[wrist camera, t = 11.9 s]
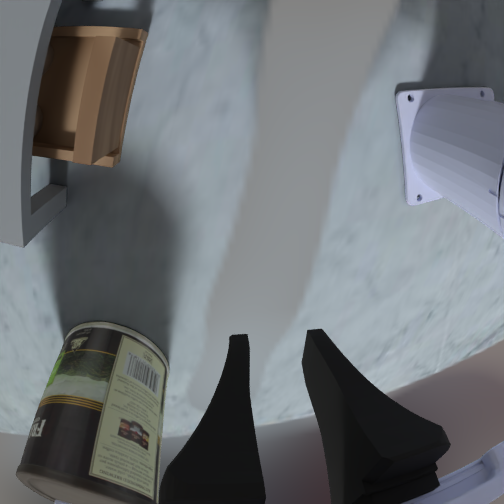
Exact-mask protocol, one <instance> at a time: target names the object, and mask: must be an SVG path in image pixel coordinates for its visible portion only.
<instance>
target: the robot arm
mask: <svg viewBox="0 0 504 504" xmlns="http://www.w3.org/2000/svg"><path fill="white" fill-rule="evenodd" d="M480 92H481V95H480ZM408 95H410V96H411V100H410V101H408ZM395 99H396V105H397V112H398V119H399V127H400V135H401V144H402V154H403V165H404V178H405V196H406V202H407V203H408V204H409V205H411V206H414V205H418V204H422V203H425V202H429V201H433V200H437V199H441V198H444V197H445V198H446V199H448V200H449V201H451V202H452V203H454V204H455V205H457V206H458V207H460V208H461V209H463V210H464V211H466V212H467V213H469V214H470V215H472V216H473V217H475V218H476V219H477V220H479V221H480V222H482V223H483V224H484V225H486V226H487V227H489V228H490V229H491V230H493V231H494V232H495V233H497V234H498V235H499V236H501V237H502V238H503V239H504V103H501V102H496V101H495V100H494V92H493V90H492V89H491V88H488V87H457V88H433V89H418V90H405V91H399V92H398V93H397V94H396V98H395ZM418 195H420V196H419V198H418V199H417V196H418ZM249 367H250V347H249V341H248V336H247V334H238V335H231V336H230V337H229V349H228V354H227V358H226V362H225V366H224V369H223V372H222V375H221V378H220V381H219V384H218V386H217V388H216V391H215V393H214V396H213V398H212V400H211V403H210V404H209V406H208V408H207V410H206V412H205V414H204V416H203V418H202V419H201V421H200V423H199V425H198V426H197V428H196V429H195V431H194V433H193V434H192V435H191V437H190V439H189V440H188V441H187V443H186V444H185V446H184V447H183V449H182V450H181V451H180V452H179V453H178V455H177V456H176V457H175V458H174V460H173V461H172V462H171V463H170V464H169V465H168V467H167V469H166V471H165V474H164V476H163V479H162V482H161V486H160V490H159V504H265V499H266V494H265V487H264V481H263V476H262V470H261V465H260V459H259V453H258V448H257V441H256V435H255V428H254V421H253V415H252V407H251V400H250V387H249V380H250V378H249V376H250V375H249V374H250V373H249V372H250V369H249ZM302 367H303V373H304V378H305V383H306V387H307V390H308V393H309V396H310V400H311V403H312V406H313V409H314V412H315V415H316V418H317V421H318V425H319V428H320V432H321V436H322V441H323V447H324V452H325V458H326V464H327V471H328V479H329V486H330V494H331V495H330V496H331V504H489V503H491V502H492V501H494V500H495V499H497V498H498V497H500V496H501V495H502V494H504V441H503V442H501V443H499V444H498V445H496V446H495V447H493V448H491V449H490V450H489V451H487V452H486V453H485V454H484V455H483V456H482V457H481V458H480V459H478V460H476V461H474V462H472V463H470V464H468V465H466V466H464V467H463V468H460V469H458V470H456V471H454V472H452V473H450V474H448V475H446V476H444V477H442V478H439V479H438V478H437V475H436V473H435V471H436V470H437V469H438V468H437V465H436V463H435V462H436V461H437V460H438V459H439V458H441V457H442V456H443V455H444V454H445V453H446V451H448V449H449V447H450V445H451V444H450V442H449V440H448V438H447V435H446V433H445V431H444V430H443V428H442V427H441V426H440V425H437V424H435V423H433V422H431V421H428V420H426V419H424V418H422V417H420V416H418V415H416V414H414V413H412V412H410V411H409V410H407V409H406V408H404V407H403V406H401V405H399V404H398V403H397V402H395V401H393V400H392V399H390V398H389V397H388V396H387V395H385V394H384V393H383V392H381V391H380V390H379V389H378V388H376V387H375V386H374V385H373V384H372V383H371V382H370V381H368V380H367V379H366V378H365V377H364V376H363V375H362V374H361V373H360V372H359V371H358V370H357V369H356V368H355V367H354V366H353V365H352V364H351V362H350V361H349V360H348V359H347V358H346V357H345V356H344V355H343V354H342V352H341V351H340V350H339V349H338V348H337V347H336V345H335V344H334V343H333V342H332V340H331V339H330V338H329V337H328V336H327V334H326V333H325V332H324V331H323V330H322V329H313V330H307V336H306V341H305V347H304V353H303V358H302ZM54 504H70V503H66V502H62V501H59V500H55V502H54Z"/></svg>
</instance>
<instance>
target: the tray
mask: <svg viewBox="0 0 504 504" xmlns="http://www.w3.org/2000/svg"><path fill="white" fill-rule="evenodd" d="M147 36H148V33H147V32H146V31H144V30H143V29H135V28H122V27H102V26H61V27H54V28H53V31H52V35H51V39H50V42H49V46H48V50H47V55H46V59H45V64H44V68H43V73H42V78H41V84H40V89H39V96H38V102H37V109H36V117H35V125H34V135H33V147H32V156H39V157H46V158H54V159H61V160H67V161H73V163H80V164H86V165H92V164H93V165H99V166H105V167H111V168H113V167H114V166H115V165H116V164H118V163H119V162H120V157H121V150H122V144H123V138H124V133H125V127H126V122H127V117H128V112H129V107H130V102H131V98H132V93H133V89H134V85H135V81H136V76H137V72H138V69H139V65H140V61H141V57H142V54H143V50H144V46H145V43H146V40H147Z"/></svg>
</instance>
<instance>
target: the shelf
mask: <svg viewBox="0 0 504 504" xmlns="http://www.w3.org/2000/svg"><path fill="white" fill-rule="evenodd" d="M82 1H103V0H82ZM61 2H62V0H0V242H3V243H7V244H11V245H14V246H18V247H22V248H24V247H25V246H26V245H27V244H28V243H29V242H30V241H31V240H32V239H33V238H34V237H35V236H36V235H37V234H38V233H39V232H40V231H41V230H42V229H43V228H44V227H45V226H46V225H47V224H48V223H49V222H50V221H51V220H52V219H53V218H54V217H55V216H56V215H57V214H58V213H60V212H61V211H62V210H63V209H64V208H65V207H66V196H67V187H65V186H60V185H54V184H49V185H47V186H46V187H44V188H43V189H42V190H40V191H39V192H37V193H36V194H35V195H33V196H32V197H31V163H32V147H33V135H34V125H35V117H36V109H37V102H38V96H39V89H40V84H41V78H42V73H43V68H44V64H45V59H46V55H47V50H48V46H49V42H50V39H51V35H52V31H53V28H54V24H55V21H56V18H57V14H58V11H59V8H60V5H61Z"/></svg>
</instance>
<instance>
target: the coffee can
mask: <svg viewBox="0 0 504 504" xmlns="http://www.w3.org/2000/svg"><path fill="white" fill-rule="evenodd" d="M168 377H169V365H168V362H167V360H166V358H165V356H164V354H163V353H162V352H161V350H160V349H159V348H158V347H157V346H156V345H155V344H154V343H152V342H151V341H150V340H149V339H147V338H146V337H145V336H143V335H141V334H139V333H138V332H136V331H134V330H131V329H129V328H127V327H124V326H120V325H117V324H114V323H108V322H87V323H83V324H80V325H78V326H76V327H74V328H73V329H72V330H71V331H70V332H69V333H68V334H67V336H66V338H65V341H64V344H63V347H62V349H61V352H60V354H59V356H58V359H57V361H56V363H55V366H54V368H53V371H52V373H51V376H50V378H49V381H48V383H47V386H46V388H45V391H44V394H43V396H42V399H41V402H40V404H39V407H38V410H37V412H36V416H35V418H34V421H33V424H32V427H31V430H30V433H29V437H28V440H27V443H26V447H25V450H24V453H23V457H22V460H21V464H20V465H19V466H18V469H17V472H16V476H17V478H18V479H19V480H20V481H21V482H22V483H23V484H24V485H26V486H27V487H28V488H30V489H31V490H33V491H34V492H36V493H38V494H39V495H41V496H43V497H45V498H47V499H49V500H51V501H53V502H55V500H59V501H62V502H66V503H70V504H158V491H159V490H158V489H159V472H160V454H161V441H162V430H163V417H164V406H165V396H166V387H167V380H168Z"/></svg>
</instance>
